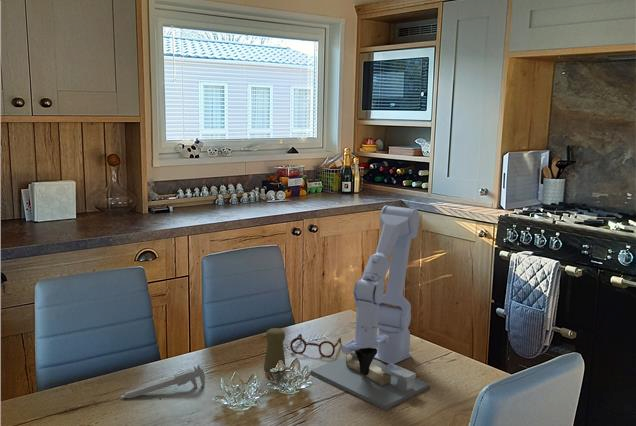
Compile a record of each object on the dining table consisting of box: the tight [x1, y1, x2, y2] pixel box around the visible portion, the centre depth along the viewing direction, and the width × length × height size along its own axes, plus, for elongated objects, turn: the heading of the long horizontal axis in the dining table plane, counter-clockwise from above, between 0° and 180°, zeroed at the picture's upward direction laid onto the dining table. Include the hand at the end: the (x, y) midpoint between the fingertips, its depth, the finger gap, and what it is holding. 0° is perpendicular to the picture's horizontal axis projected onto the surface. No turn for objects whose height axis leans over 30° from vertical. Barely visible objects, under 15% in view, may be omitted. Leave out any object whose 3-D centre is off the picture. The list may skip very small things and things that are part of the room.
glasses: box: [290, 333, 342, 358], centre depth 182 cm, size 13×13×5 cm
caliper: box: [119, 363, 206, 400], centre depth 151 cm, size 20×1×6 cm, turn 113°
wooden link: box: [345, 351, 391, 385], centre depth 163 cm, size 15×4×4 cm, turn 36°
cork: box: [263, 327, 286, 373], centre depth 166 cm, size 6×6×11 cm
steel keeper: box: [381, 363, 417, 393], centre depth 156 cm, size 8×4×4 cm, turn 44°
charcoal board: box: [310, 356, 431, 411], centre depth 161 cm, size 18×26×1 cm
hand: (364, 373), depth 161 cm, fingers closed
